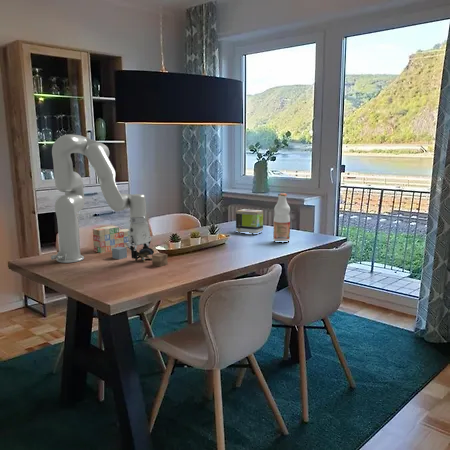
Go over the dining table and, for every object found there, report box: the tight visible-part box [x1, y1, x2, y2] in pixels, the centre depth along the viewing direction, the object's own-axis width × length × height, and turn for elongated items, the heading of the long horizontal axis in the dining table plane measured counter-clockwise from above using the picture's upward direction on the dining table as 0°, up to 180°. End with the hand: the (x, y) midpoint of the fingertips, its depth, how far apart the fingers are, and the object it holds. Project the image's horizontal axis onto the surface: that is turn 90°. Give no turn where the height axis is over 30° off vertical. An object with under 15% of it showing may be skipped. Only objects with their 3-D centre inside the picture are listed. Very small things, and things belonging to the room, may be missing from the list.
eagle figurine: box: [134, 247, 155, 262], centre depth 214 cm, size 8×7×9 cm
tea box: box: [235, 208, 264, 233], centre depth 282 cm, size 15×10×15 cm, turn 60°
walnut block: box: [151, 252, 169, 268], centre depth 206 cm, size 5×5×5 cm
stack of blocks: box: [92, 225, 130, 254], centre depth 239 cm, size 21×6×12 cm, turn 141°
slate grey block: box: [111, 247, 128, 260], centre depth 219 cm, size 5×5×5 cm
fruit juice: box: [272, 193, 291, 242], centre depth 254 cm, size 9×9×28 cm
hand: (140, 256), depth 212 cm, fingers closed on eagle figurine, 7 cm apart
